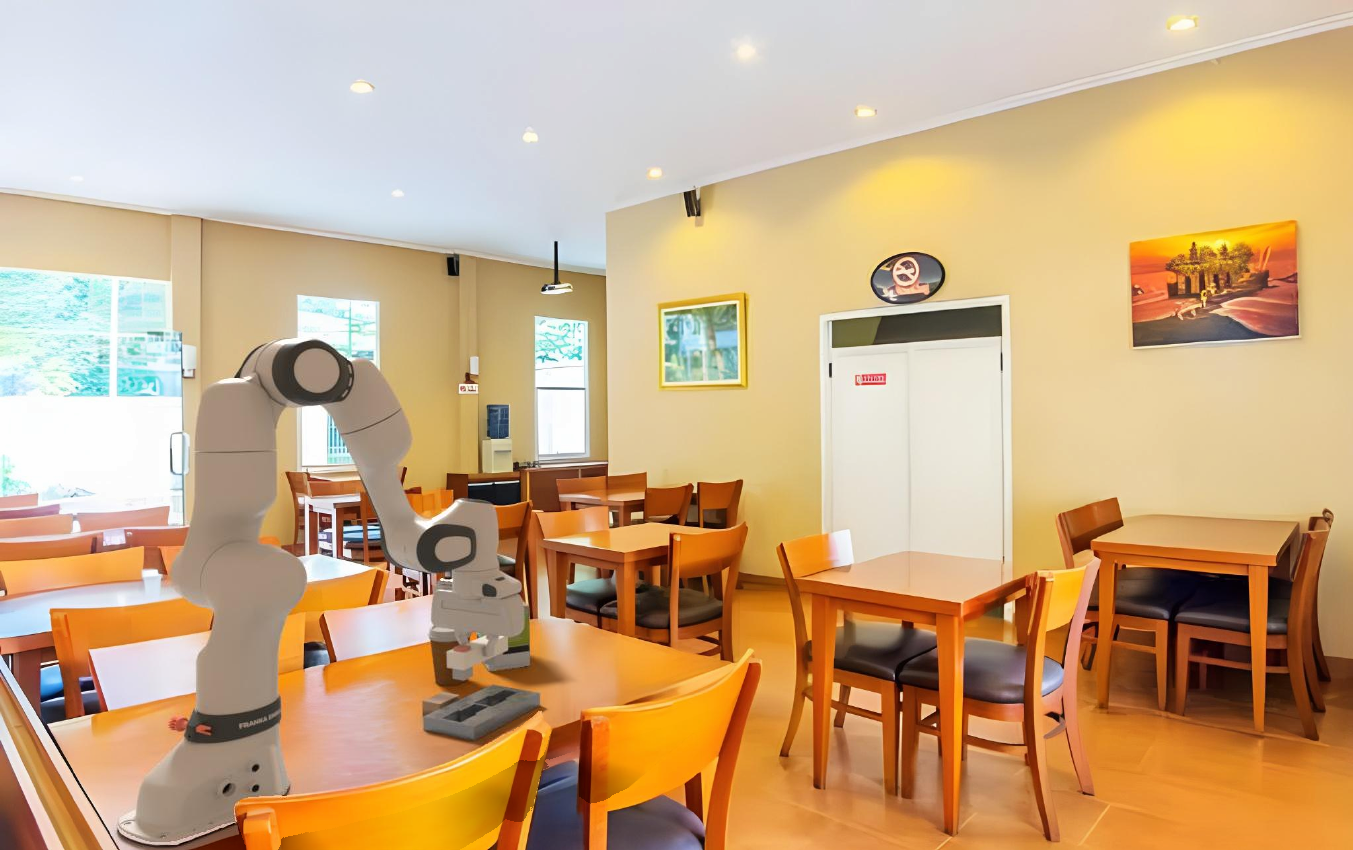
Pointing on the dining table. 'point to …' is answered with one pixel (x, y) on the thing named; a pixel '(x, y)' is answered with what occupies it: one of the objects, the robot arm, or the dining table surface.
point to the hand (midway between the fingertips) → (477, 654)
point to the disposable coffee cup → (443, 653)
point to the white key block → (474, 656)
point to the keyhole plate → (481, 712)
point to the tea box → (515, 647)
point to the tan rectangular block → (438, 702)
